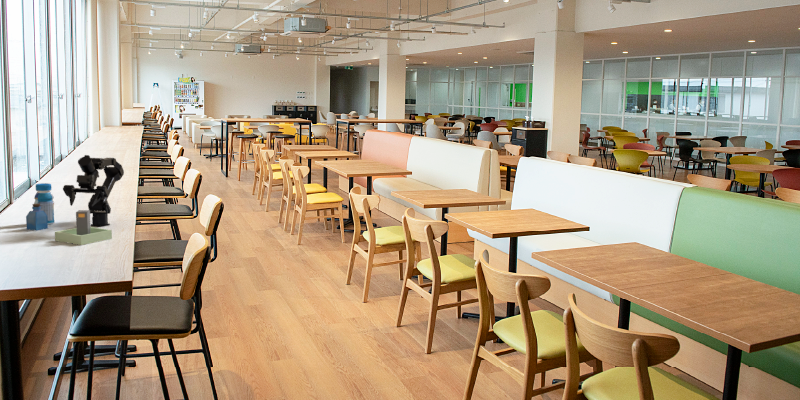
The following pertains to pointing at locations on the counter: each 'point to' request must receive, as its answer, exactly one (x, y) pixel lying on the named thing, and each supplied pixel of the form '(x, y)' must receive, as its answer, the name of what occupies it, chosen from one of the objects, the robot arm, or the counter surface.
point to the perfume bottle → (36, 218)
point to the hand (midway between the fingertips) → (81, 205)
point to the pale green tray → (83, 236)
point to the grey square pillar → (83, 222)
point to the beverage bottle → (45, 200)
